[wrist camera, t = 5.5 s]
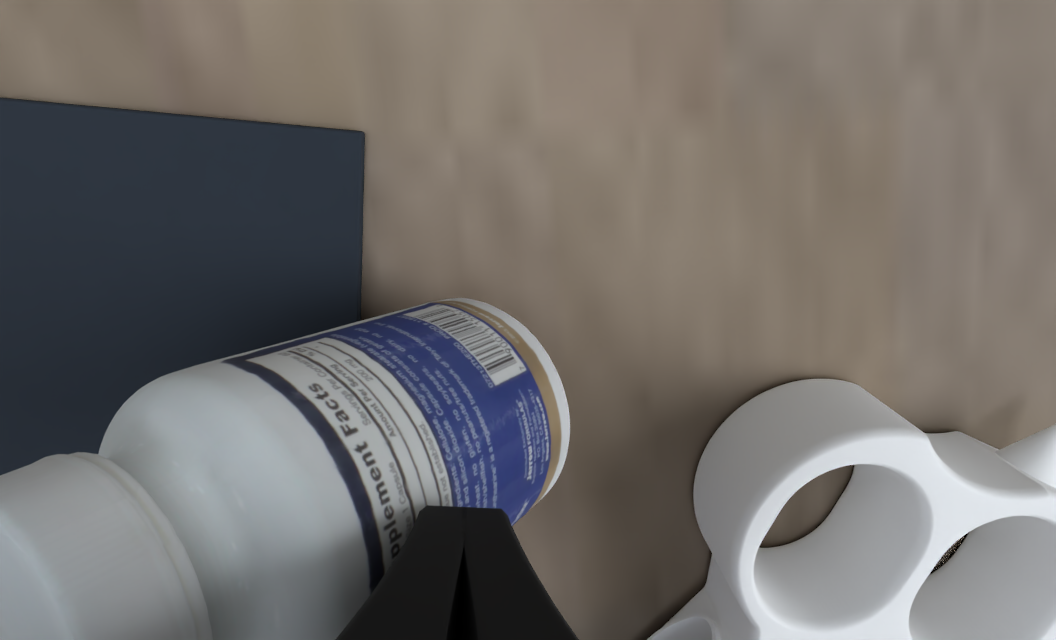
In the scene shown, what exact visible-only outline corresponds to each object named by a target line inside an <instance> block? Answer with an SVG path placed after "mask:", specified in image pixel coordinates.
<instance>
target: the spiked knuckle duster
mask: <svg viewBox="0 0 1056 640" xmlns="http://www.w3.org/2000/svg"><path fill="white" fill-rule="evenodd" d="M848 465H855V466H854V470H853V474H852V477H851V479H850V481H849V484H848V485H847V487H846V489H845V490H844V492H843V494H842V495H841V497H840V498H839V500H838V502H837V503H836V505H835V506H834V508H833V509H832V511H831V513H830V514H829V515H828V517H827V518H826V519H825V520H824V521H823V523H822V524H821V525H819V526H818V527H817V528H816V529H815V530H814V531H812V532H811V533H810V534H808V535H806V536H805V537H803V538H801V539H799V540H797V541H795V542H792V543H790V544H786V545H783V546H778V547H771V548H759V546H760V544H761V542H762V540H763V538H764V537H765V535H766V534H767V532H768V530H769V529H770V527H771V525H772V524H773V522H774V520H775V519H776V517H777V515H778V514H779V512H780V511H781V509H782V507H783V506H784V505H785V503H786V502H787V501H788V500H789V499H790V497H791V496H792V495H793V494H794V493H795V492H796V491H797V490H799V489H800V488H801V487H802V486H804V485H805V484H806V483H808V482H809V481H811V480H812V479H814V478H816V477H817V476H819V475H821V474H823V473H825V472H828V471H830V470H833V469H836V468H839V467H843V466H848ZM693 501H694V510H695V515H696V519H697V522H698V525H699V528H700V530H701V533H702V535H703V537H704V539H705V541H706V543H707V544H708V546H709V548H710V550H711V552H712V557H711V562H710V567H709V572H708V577H707V582H706V584H705V586H704V588H703V589H702V590H701V591H700V592H699V593H698V594H696V595H695V596H694V597H693V598H692V599H691V600H690V601H689V602H688V603H687V604H686V605H685V606H684V607H683V608H682V609H681V610H680V611H679V612H678V613H677V614H675V615H674V616H673V617H672V618H671V619H670V620H669V621H668V622H667V623H666V624H665V625H664V626H663V627H662V628H661V629H659V630H658V631H657V632H655V633H654V634H653V635H652V636H650V637H649V638H648V639H647V640H1056V424H1055V425H1052V426H1050V427H1048V428H1046V429H1044V430H1041V431H1039V432H1037V433H1035V434H1033V435H1030V436H1028V437H1026V438H1024V439H1022V440H1019V441H1017V442H1015V443H1013V444H1011V445H1009V446H1006V447H1004V448H1002V449H1000V450H998V449H996V448H994V447H992V446H990V445H988V444H986V443H983V442H981V441H979V440H977V439H975V438H973V437H971V436H968V435H966V434H964V433H962V432H959V431H953V432H947V433H924V432H922V431H921V430H920V429H918V428H917V427H916V426H914V425H913V424H911V423H910V422H909V421H907V420H906V419H904V418H903V417H902V416H900V415H899V414H897V413H896V412H895V411H893V410H892V409H891V408H889V407H888V406H886V405H885V404H884V403H882V402H881V401H879V400H878V399H877V398H875V397H874V396H873V395H871V394H870V393H868V392H867V391H866V390H864V389H863V388H862V387H860V386H859V385H857V384H855V383H851V382H847V381H842V380H835V379H807V380H800V381H795V382H790V383H787V384H783V385H780V386H777V387H775V388H772V389H770V390H767V391H765V392H763V393H761V394H759V395H757V396H756V397H754V398H752V399H751V400H749V401H748V402H746V403H745V404H743V405H742V406H741V407H739V408H738V409H737V410H736V411H735V412H733V413H732V414H731V415H730V416H729V417H728V418H727V419H726V420H725V421H724V422H723V423H722V424H721V426H720V427H719V428H718V429H717V431H716V432H715V433H714V435H713V436H712V438H711V439H710V441H709V442H708V444H707V446H706V448H705V450H704V452H703V454H702V456H701V459H700V461H699V464H698V467H697V471H696V475H695V480H694V490H693ZM968 532H969V534H968V535H967V537H966V538H965V540H964V541H963V543H962V544H961V545H960V547H959V548H958V550H957V551H956V552H955V554H954V555H953V556H952V557H951V558H950V559H949V560H948V561H947V562H946V563H945V564H944V565H943V566H942V567H940V568H939V569H938V570H936V571H935V572H933V573H932V574H930V573H931V571H932V570H933V568H934V567H935V565H936V564H937V562H938V561H939V560H940V558H941V557H942V556H943V554H944V553H945V552H946V551H947V550H948V549H949V548H950V547H951V546H952V545H953V544H954V543H955V542H956V541H957V540H959V539H960V538H961V537H963V536H964V535H965V534H967V533H968ZM929 574H930V575H929Z"/></svg>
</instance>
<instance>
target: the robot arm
mask: <svg viewBox="0 0 1056 640" xmlns="http://www.w3.org/2000/svg"><path fill="white" fill-rule="evenodd" d="M335 640H579V639H578V638H577V637H576V635H575V634H574V632H573V631H572V629H571V628H570V627H569V625H568V624H567V622H566V621H565V620H564V618H563V617H562V615H561V614H560V612H559V611H558V609H557V607H556V606H555V604H554V603H553V601H552V600H551V598H550V596H549V595H548V593H547V591H546V590H545V588H544V586H543V585H542V583H541V582H540V580H539V578H538V577H537V575H536V573H535V571H534V570H533V568H532V566H531V564H530V562H529V561H528V559H527V557H526V555H525V553H524V551H523V549H522V547H521V545H520V543H519V541H518V539H517V537H516V534H515V532H514V530H513V528H512V525H511V523H510V520H509V517H508V515H507V514H506V513H505V512H504V511H503V509H499V508H476V507H454V506H431V505H427V506H426V507H424V508H423V509H422V510H421V511H419V514H418V517H417V519H416V522H415V524H414V526H413V528H412V530H411V532H410V534H409V536H408V538H407V539H406V541H405V543H404V545H403V546H402V548H401V550H400V551H399V553H398V555H397V556H396V558H395V560H394V561H393V563H392V564H391V565H390V567H389V568H388V570H387V571H386V573H385V574H384V576H383V577H382V579H381V580H380V582H379V583H378V585H377V586H376V588H375V589H374V591H373V592H372V593H371V595H370V596H369V598H368V599H367V600H366V601H365V603H364V604H363V605H362V607H361V608H360V609H359V610H358V612H357V613H356V614H355V616H354V617H353V618H352V619H351V621H350V622H349V623H348V625H347V626H346V627H345V628H344V630H343V631H342V632H341V633H340V635H339V636H338V637H337V638H336V639H335Z"/></svg>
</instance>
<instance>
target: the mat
mask: <svg viewBox="0 0 1056 640" xmlns="http://www.w3.org/2000/svg"><path fill="white" fill-rule="evenodd" d="M364 145H365V134H364V132H362V131H353V130H343V129H332V128H321V127H310V126H300V125H289V124H278V123H267V122H257V121H246V120H235V119H225V118H214V117H203V116H192V115H182V114H171V113H160V112H149V111H139V110H128V109H117V108H107V107H96V106H85V105H74V104H64V103H53V102H42V101H32V100H21V99H10V98H0V475H3V474H6V473H8V472H11V471H14V470H16V469H19V468H22V467H24V466H27V465H30V464H32V463H34V462H36V461H38V460H40V459H42V458H44V457H47V456H51V455H56V454H67V455H68V454H72V453H76V452H86V453H91V454H98V453H99V449H100V446H101V443H102V440H103V437H104V435H105V432H106V430H107V428H108V426H109V424H110V423H111V421H112V419H113V418H114V416H115V414H116V413H117V411H118V410H119V409H120V408H121V406H122V405H123V404H124V403H125V402H126V401H127V400H128V399H129V398H130V397H131V396H132V395H133V394H134V393H135V392H136V391H138V390H139V389H140V388H142V387H143V386H145V385H146V384H148V383H150V382H152V381H153V380H155V379H157V378H159V377H161V376H164V375H166V374H169V373H173V372H176V371H179V370H182V369H186V368H189V367H192V366H195V365H199V364H203V363H207V362H210V361H214V360H218V359H222V358H225V357H229V356H233V355H237V354H241V353H245V352H248V351H252V350H256V349H260V348H264V347H267V346H271V345H275V344H278V343H282V342H286V341H290V340H293V339H297V338H301V337H304V336H308V335H311V334H315V333H318V332H322V331H326V330H329V329H333V328H336V327H340V326H344V325H347V324H351V323H354V322H358V321H361V280H362V235H363V190H364Z"/></svg>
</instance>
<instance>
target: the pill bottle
mask: <svg viewBox="0 0 1056 640" xmlns="http://www.w3.org/2000/svg"><path fill="white" fill-rule="evenodd" d="M569 438H570V417H569V408H568V403H567V399H566V395H565V391H564V388H563V385H562V382H561V379H560V377H559V375H558V372H557V370H556V368H555V366H554V364H553V363H552V361H551V359H550V357H549V355H548V354H547V352H546V351H545V350H544V348H543V347H542V345H541V344H540V342H539V341H538V340H537V338H536V337H535V336H534V335H533V334H532V333H531V332H530V331H529V330H528V329H527V328H526V327H525V326H524V325H522V324H521V323H520V322H519V321H518V320H516V319H515V318H513V317H511V316H510V315H509V314H507V313H505V312H504V311H502V310H500V309H498V308H496V307H494V306H492V305H490V304H487V303H485V302H481V301H476V300H473V299H468V298H451V299H444V300H439V301H433V302H428V303H425V304H421V305H418V306H414V307H410V308H407V309H403V310H399V311H395V312H392V313H388V314H384V315H380V316H377V317H373V318H369V319H365V320H362V321H358V322H354V323H351V324H347V325H344V326H340V327H336V328H333V329H329V330H326V331H322V332H318V333H315V334H311V335H308V336H304V337H301V338H297V339H293V340H290V341H286V342H282V343H278V344H275V345H271V346H267V347H264V348H260V349H256V350H252V351H248V352H245V353H241V354H237V355H233V356H229V357H225V358H222V359H218V360H214V361H210V362H207V363H203V364H199V365H195V366H192V367H189V368H186V369H182V370H179V371H176V372H173V373H169V374H166V375H164V376H161V377H159V378H157V379H155V380H153V381H152V382H150V383H148V384H146V385H145V386H143V387H142V388H140V389H139V390H138V391H136V392H135V393H134V394H133V395H132V396H131V397H130V398H129V399H128V400H127V401H126V402H125V403H124V404H123V405H122V406H121V408H120V409H119V410H118V411H117V413H116V414H115V416H114V418H113V419H112V421H111V423H110V424H109V426H108V428H107V430H106V432H105V435H104V437H103V440H102V443H101V446H100V449H99V453H98V454H91V453H86V452H76V453H72V454H68V455H67V454H56V455H51V456H47V457H44V458H42V459H40V460H38V461H36V462H34V463H32V464H30V465H27V466H24V467H22V468H19V469H16V470H14V471H11V472H8V473H6V474H3V475H0V640H335V639H336V638H337V637H338V636H339V635H340V633H341V632H342V631H343V630H344V628H345V627H346V626H347V625H348V623H349V622H350V621H351V619H352V618H353V617H354V616H355V614H356V613H357V612H358V610H359V609H360V608H361V607H362V605H363V604H364V603H365V601H366V600H367V599H368V598H369V596H370V595H371V593H372V592H373V591H374V589H375V588H376V586H377V585H378V583H379V582H380V580H381V579H382V577H383V576H384V574H385V573H386V571H387V570H388V568H389V567H390V565H391V564H392V563H393V561H394V560H395V558H396V556H397V555H398V553H399V551H400V550H401V548H402V546H403V545H404V543H405V541H406V539H407V538H408V536H409V534H410V532H411V530H412V528H413V526H414V524H415V522H416V519H417V517H418V514H419V511H421V510H422V509H423V508H424V507H426V506H427V505H431V506H454V507H476V508H499V509H503V511H504V512H505V513H506V514H507V515H508V517H509V520H510V523H511V525H512V526H513V525H514V524H515V523H516V522H517V521H518V520H519V519H520V518H521V517H523V516H524V515H525V514H526V513H527V512H528V511H529V510H530V509H532V508H533V507H534V505H535V504H536V503H538V502H539V501H540V500H541V499H542V498H543V497H544V496H545V495H546V494H547V493H548V492H549V490H550V489H551V488H552V487H553V485H554V484H555V482H556V480H557V479H558V477H559V475H560V473H561V471H562V468H563V466H564V463H565V459H566V455H567V451H568V445H569Z"/></svg>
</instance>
